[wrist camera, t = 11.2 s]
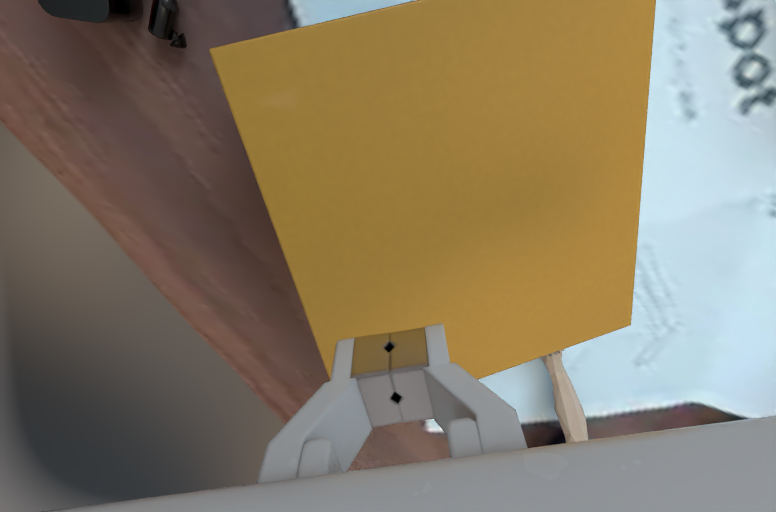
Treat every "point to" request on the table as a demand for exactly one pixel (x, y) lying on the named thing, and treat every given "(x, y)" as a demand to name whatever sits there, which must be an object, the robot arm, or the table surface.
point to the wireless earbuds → (121, 14)
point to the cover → (454, 168)
